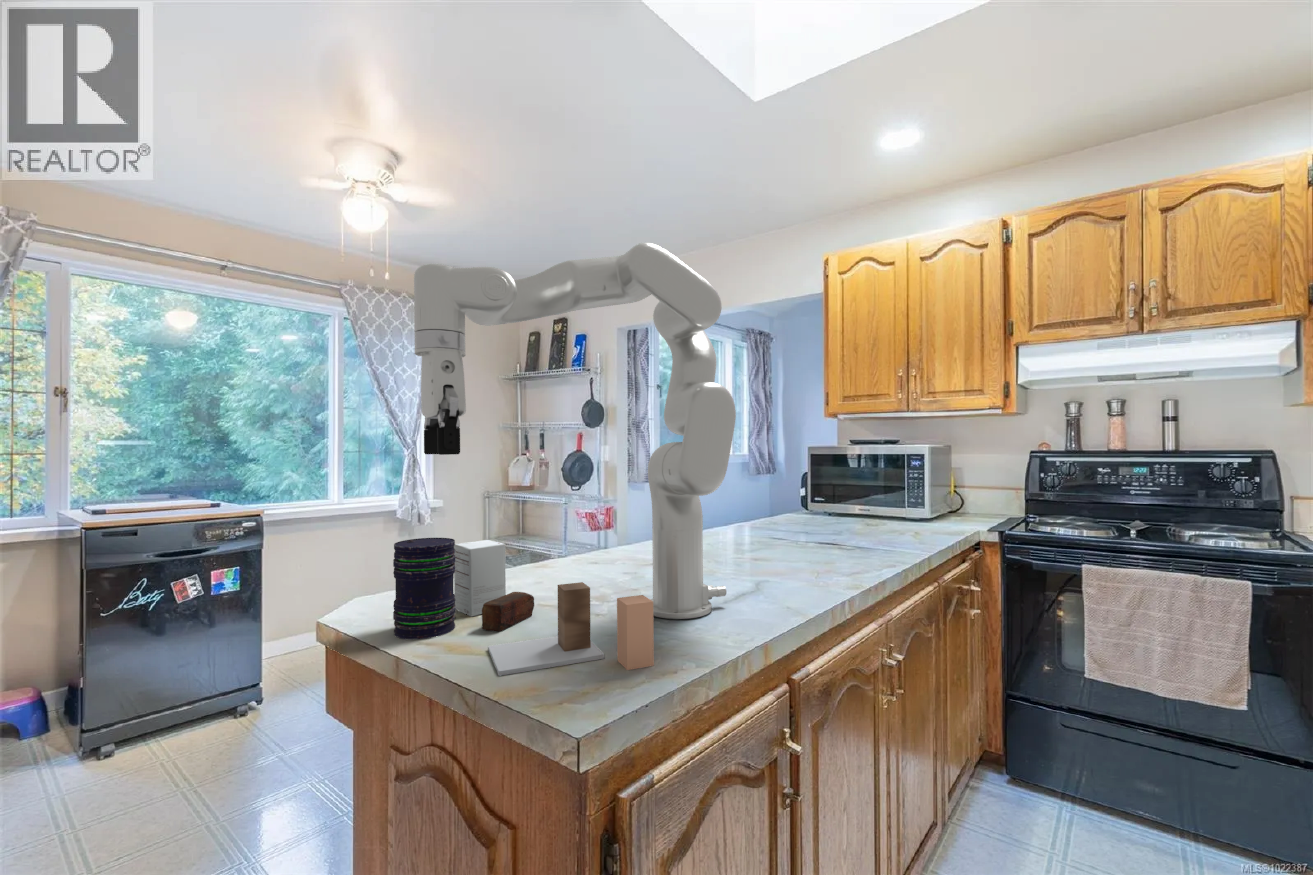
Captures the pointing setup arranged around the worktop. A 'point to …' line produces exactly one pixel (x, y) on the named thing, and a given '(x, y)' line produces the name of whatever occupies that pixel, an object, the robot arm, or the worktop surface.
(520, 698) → the worktop surface
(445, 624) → the dark blue ribbed cylinder
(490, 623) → the brick
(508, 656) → the mat
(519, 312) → the robot arm
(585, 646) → the brown cardboard box
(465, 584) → the supplement box
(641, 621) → the terracotta block
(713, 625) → the worktop surface
